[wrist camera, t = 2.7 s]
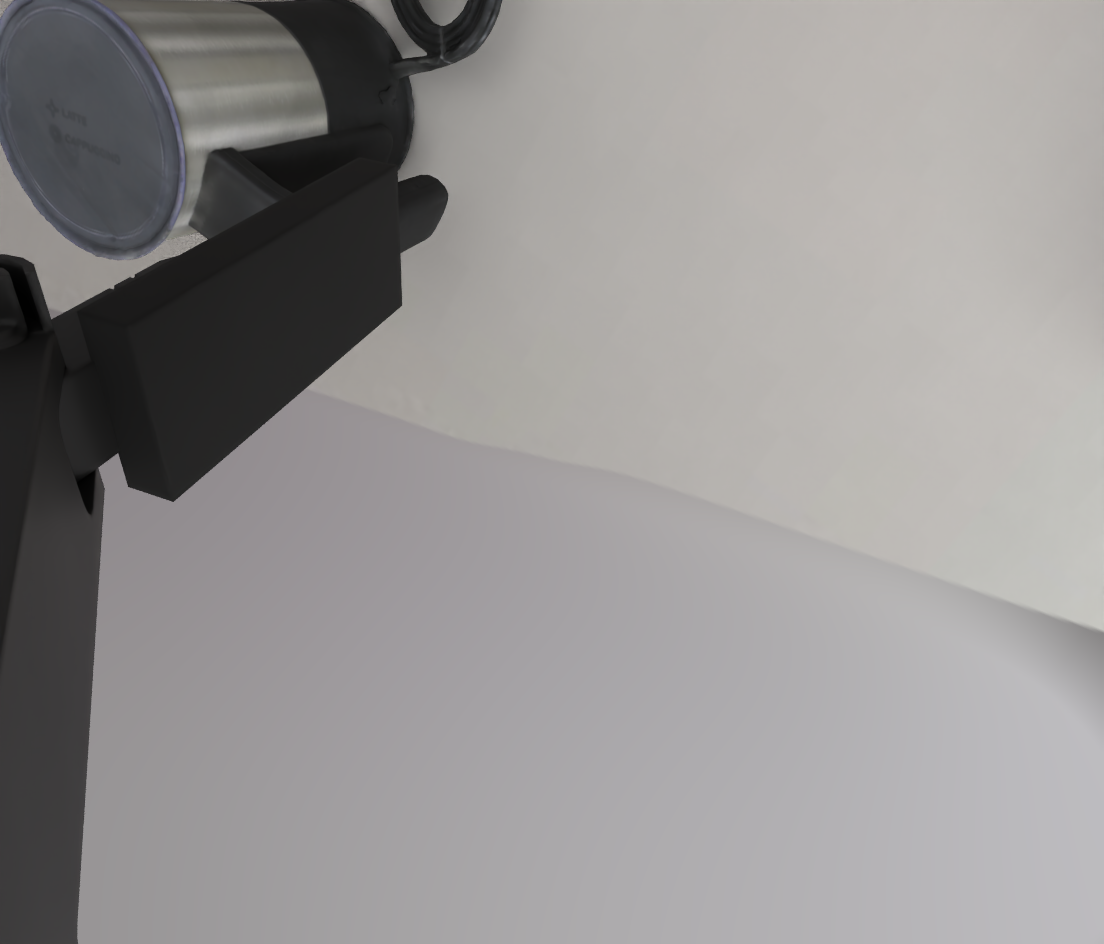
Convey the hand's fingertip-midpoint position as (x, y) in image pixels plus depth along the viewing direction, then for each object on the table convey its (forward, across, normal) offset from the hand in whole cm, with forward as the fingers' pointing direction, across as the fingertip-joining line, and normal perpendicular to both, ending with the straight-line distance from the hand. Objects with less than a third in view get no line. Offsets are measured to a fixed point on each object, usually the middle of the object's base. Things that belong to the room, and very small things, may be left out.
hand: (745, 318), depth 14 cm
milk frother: (+25, -21, -3) cm, 33 cm away
